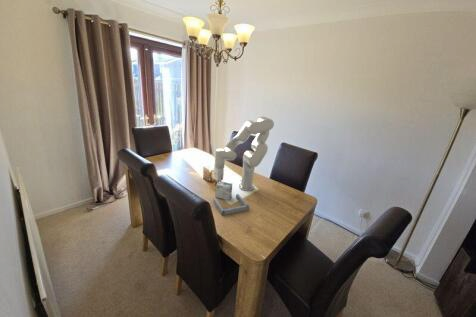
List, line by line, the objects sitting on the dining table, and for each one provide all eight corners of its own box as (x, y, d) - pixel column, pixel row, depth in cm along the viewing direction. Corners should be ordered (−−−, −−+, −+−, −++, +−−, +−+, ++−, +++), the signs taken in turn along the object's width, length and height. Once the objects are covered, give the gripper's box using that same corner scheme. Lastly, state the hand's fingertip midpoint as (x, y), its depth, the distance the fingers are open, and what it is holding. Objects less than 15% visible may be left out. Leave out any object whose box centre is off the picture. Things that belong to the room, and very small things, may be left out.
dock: (213, 201, 145) (213, 198, 144) (237, 197, 153) (238, 193, 152) (222, 215, 130) (222, 211, 129) (248, 209, 139) (249, 205, 138)
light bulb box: (231, 196, 154) (232, 183, 151) (228, 200, 148) (229, 187, 145) (218, 193, 157) (219, 180, 153) (215, 197, 151) (215, 184, 147)
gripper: (211, 161, 159) (210, 182, 165) (218, 169, 147) (216, 191, 153) (220, 161, 163) (218, 182, 168) (227, 168, 150) (225, 190, 156)
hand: (217, 186), depth 161 cm, fingers closed
